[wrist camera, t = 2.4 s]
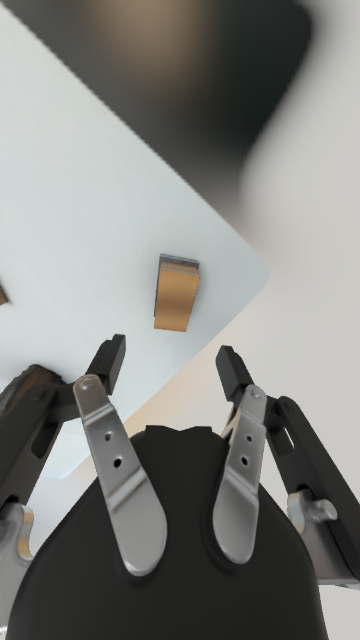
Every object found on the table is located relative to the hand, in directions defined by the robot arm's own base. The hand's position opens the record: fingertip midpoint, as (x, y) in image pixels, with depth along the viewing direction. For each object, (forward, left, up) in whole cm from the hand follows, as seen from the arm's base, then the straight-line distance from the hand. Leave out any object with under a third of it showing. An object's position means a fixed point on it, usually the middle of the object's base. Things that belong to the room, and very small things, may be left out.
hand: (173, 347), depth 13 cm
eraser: (0, 0, -12) cm, 12 cm away
